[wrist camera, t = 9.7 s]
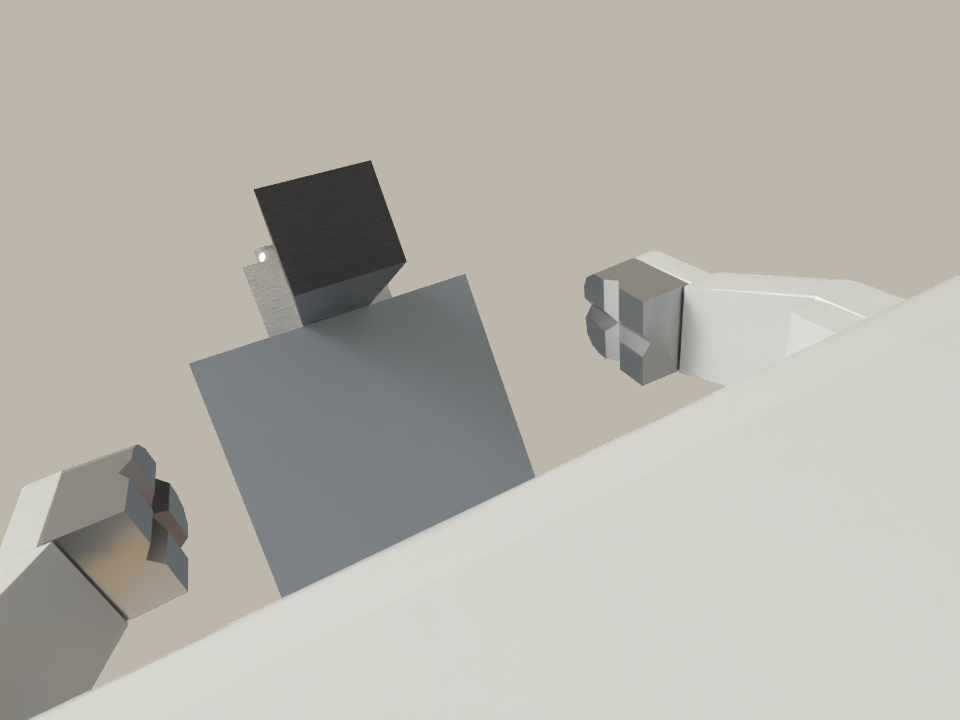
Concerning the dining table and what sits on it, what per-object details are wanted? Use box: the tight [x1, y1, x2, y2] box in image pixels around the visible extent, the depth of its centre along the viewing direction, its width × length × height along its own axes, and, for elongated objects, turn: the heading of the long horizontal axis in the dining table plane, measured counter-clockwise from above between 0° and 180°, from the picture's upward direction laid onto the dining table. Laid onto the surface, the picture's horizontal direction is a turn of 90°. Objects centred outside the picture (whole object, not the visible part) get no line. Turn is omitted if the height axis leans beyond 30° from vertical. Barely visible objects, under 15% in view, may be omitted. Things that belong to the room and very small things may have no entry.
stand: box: [189, 274, 535, 598], centre depth 24 cm, size 8×10×27 cm
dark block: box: [243, 161, 406, 337], centre depth 19 cm, size 16×5×4 cm, turn 17°
